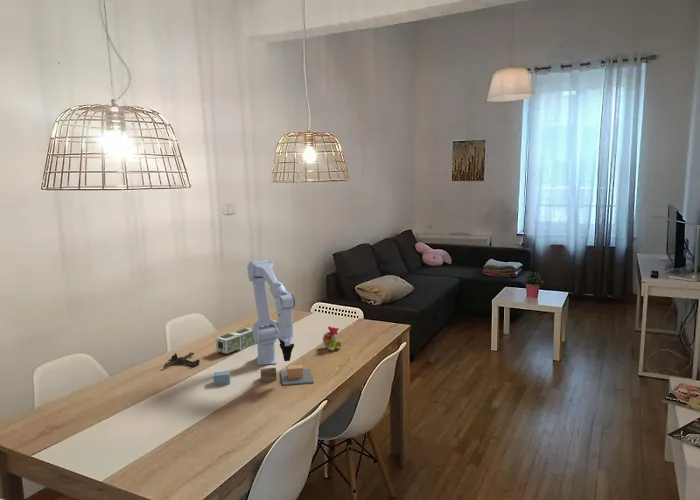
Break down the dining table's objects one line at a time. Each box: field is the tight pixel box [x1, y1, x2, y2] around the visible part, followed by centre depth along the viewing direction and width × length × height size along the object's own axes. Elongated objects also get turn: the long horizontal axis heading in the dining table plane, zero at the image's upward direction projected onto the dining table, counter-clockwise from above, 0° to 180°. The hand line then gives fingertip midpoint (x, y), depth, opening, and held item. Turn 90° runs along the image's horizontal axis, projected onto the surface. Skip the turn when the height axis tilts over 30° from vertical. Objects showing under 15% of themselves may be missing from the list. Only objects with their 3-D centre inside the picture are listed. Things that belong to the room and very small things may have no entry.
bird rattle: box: [322, 326, 342, 351], centre depth 241 cm, size 6×11×9 cm
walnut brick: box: [260, 367, 278, 382], centre depth 207 cm, size 4×6×4 cm, turn 103°
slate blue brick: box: [213, 370, 231, 386], centre depth 203 cm, size 4×6×4 cm, turn 101°
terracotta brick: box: [286, 364, 304, 379], centre depth 208 cm, size 4×6×4 cm, turn 102°
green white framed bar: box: [215, 319, 278, 354], centre depth 248 cm, size 35×8×7 cm, turn 146°
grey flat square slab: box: [279, 368, 314, 386], centre depth 208 cm, size 13×12×1 cm
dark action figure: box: [162, 351, 200, 369], centre depth 223 cm, size 18×4×14 cm
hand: (286, 357), depth 208 cm, fingers open, 7 cm apart
